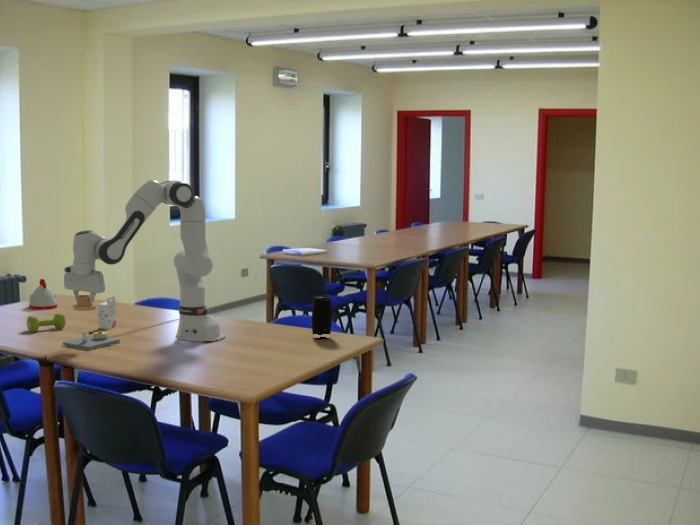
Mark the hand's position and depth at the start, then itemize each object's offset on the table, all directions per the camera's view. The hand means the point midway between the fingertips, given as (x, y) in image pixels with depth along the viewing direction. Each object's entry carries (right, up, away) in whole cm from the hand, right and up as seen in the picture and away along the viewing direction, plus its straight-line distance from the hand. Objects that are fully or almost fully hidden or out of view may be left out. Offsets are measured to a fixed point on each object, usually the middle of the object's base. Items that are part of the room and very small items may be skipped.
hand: (84, 301), depth 347 cm
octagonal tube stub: (0, -3, 0) cm, 3 cm away
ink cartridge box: (-3, -14, +41) cm, 44 cm away
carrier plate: (+1, -19, +6) cm, 20 cm away
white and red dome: (-50, -7, +87) cm, 100 cm away
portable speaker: (+99, -19, +34) cm, 106 cm away
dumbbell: (-28, -15, +32) cm, 45 cm away
